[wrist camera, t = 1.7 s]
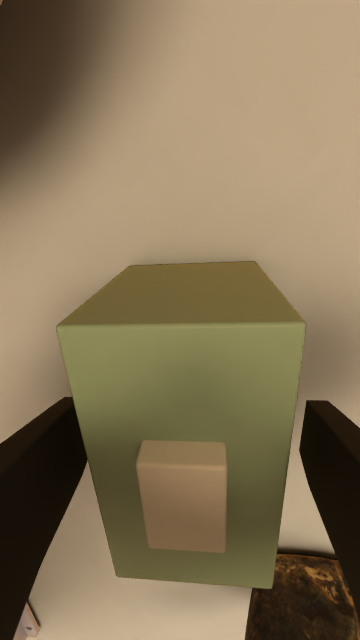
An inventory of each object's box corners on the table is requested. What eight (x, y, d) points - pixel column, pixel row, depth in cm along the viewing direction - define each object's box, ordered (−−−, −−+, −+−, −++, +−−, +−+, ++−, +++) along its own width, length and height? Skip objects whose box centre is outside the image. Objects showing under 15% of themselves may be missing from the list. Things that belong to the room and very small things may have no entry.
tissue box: (247, 439, 14) (278, 622, 8) (149, 436, 15) (108, 606, 9) (256, 260, 11) (323, 339, 5) (128, 265, 11) (33, 341, 5)
